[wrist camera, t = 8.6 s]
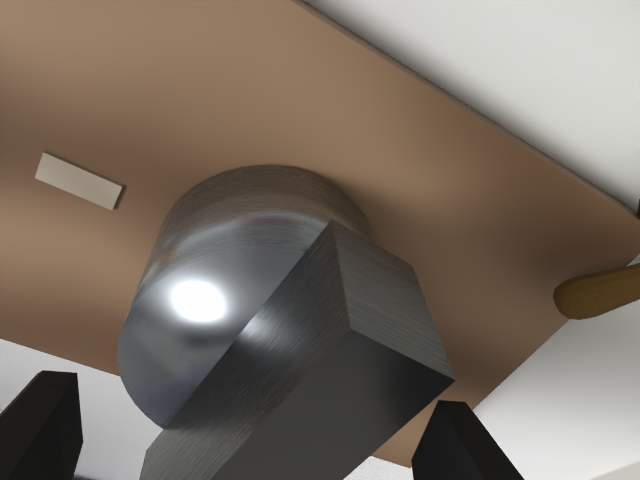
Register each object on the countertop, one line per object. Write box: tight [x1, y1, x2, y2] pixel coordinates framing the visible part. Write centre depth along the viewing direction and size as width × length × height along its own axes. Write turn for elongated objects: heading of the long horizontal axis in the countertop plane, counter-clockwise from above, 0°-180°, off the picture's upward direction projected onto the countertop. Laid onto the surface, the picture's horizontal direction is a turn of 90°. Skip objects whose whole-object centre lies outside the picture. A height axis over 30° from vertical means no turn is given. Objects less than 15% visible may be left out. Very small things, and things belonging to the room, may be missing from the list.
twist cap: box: [117, 165, 456, 480], centre depth 12 cm, size 6×8×7 cm
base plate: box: [0, 0, 640, 468], centre depth 16 cm, size 13×20×2 cm, turn 59°
